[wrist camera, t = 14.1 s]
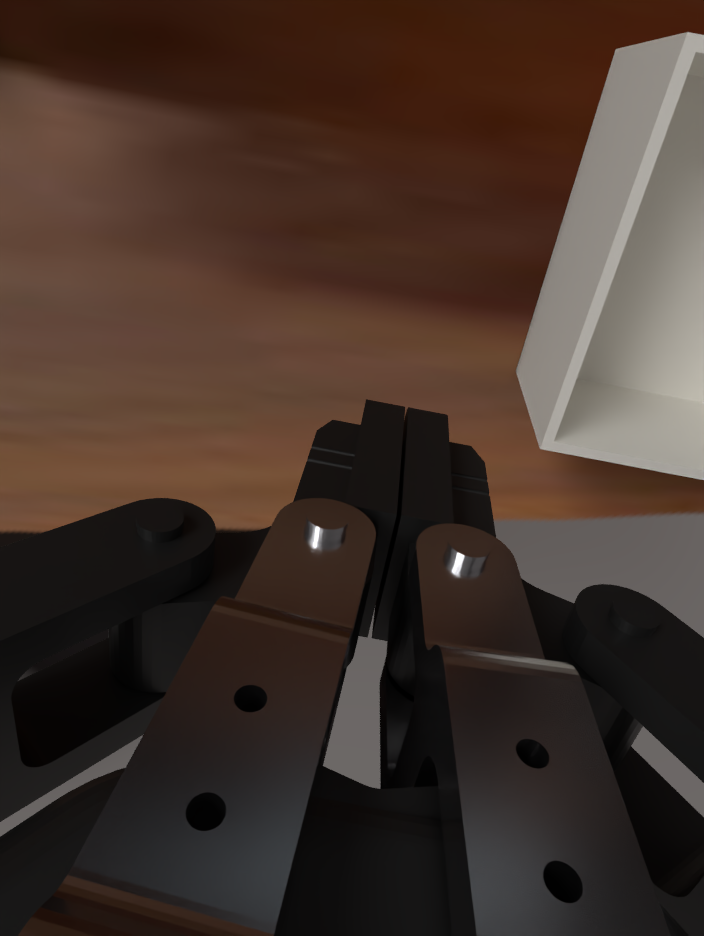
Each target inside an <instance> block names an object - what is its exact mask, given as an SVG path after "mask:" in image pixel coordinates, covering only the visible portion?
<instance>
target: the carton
mask: <svg viewBox="0 0 704 936" xmlns="http://www.w3.org/2000/svg"><path fill="white" fill-rule="evenodd" d="M516 373H517V377H518V380H519V383H520V386H521V389H522V393H523V396H524V399H525V402H526V405H527V409H528V412H529V415H530V418H531V421H532V425H533V428H534V431H535V434H536V437H537V441H538V444H539V447H540V449H543V450H549V451H554V452H559V453H564V454H570V455H575V456H580V457H585V458H590V459H596V460H601V461H606V462H611V463H617V464H622V465H627V466H632V467H637V468H643V469H648V470H653V471H658V472H664V473H669V474H674V475H679V476H684V477H690V478H695V479H700V480H704V35H700V34H694V33H689V32H687V33H682V34H678V35H674V36H670V37H665V38H661V39H657V40H653V41H648V42H644V43H640V44H636V45H631V46H627V47H623V48H619V49H616V50H615V54H614V57H613V60H612V63H611V66H610V70H609V73H608V76H607V79H606V83H605V86H604V89H603V92H602V95H601V99H600V102H599V105H598V108H597V112H596V115H595V118H594V121H593V124H592V128H591V131H590V134H589V137H588V141H587V144H586V147H585V150H584V153H583V157H582V160H581V163H580V166H579V169H578V173H577V176H576V179H575V182H574V186H573V189H572V192H571V195H570V198H569V202H568V205H567V208H566V211H565V215H564V218H563V221H562V224H561V227H560V231H559V234H558V237H557V240H556V244H555V247H554V250H553V253H552V256H551V260H550V263H549V266H548V269H547V273H546V276H545V279H544V282H543V285H542V289H541V292H540V295H539V298H538V302H537V305H536V308H535V311H534V314H533V318H532V321H531V324H530V327H529V331H528V334H527V337H526V340H525V343H524V347H523V350H522V353H521V356H520V359H519V363H518V366H517V369H516Z"/></svg>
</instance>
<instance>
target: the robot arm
mask: <svg viewBox="0 0 704 936" xmlns="http://www.w3.org/2000/svg"><path fill="white" fill-rule="evenodd" d="M404 415H405V407H403V406H398V405H392V404H387V403H382V402H377V401H372V400H366V403H365V408H364V412H363V417H362V422H361V425H357V424H352V423H347V422H342V421H337V420H332V421H330V422H329V423H327V424H326V425H324V426H323V427H321V428H320V429H319V430H317V432H316V435H315V438H314V441H313V444H312V448H311V450H310V453H309V456H308V460H307V462H306V465H305V468H304V471H303V474H302V477H301V480H300V483H299V486H298V489H297V492H296V495H295V498H294V501H293V502H292V503H290V504H288V505H287V506H285V507H284V508H282V509H281V510H280V512H279V513H278V514H277V516H276V518H275V520H274V522H273V524H272V526H270V527H268V528H265V529H261V530H257V531H251V532H240V533H216V527H215V524H214V521H213V520H212V518H211V516H210V515H209V514H208V513H207V512H206V511H204V510H203V509H201V508H200V507H198V506H196V505H194V504H191V503H188V502H185V501H181V500H177V499H169V498H153V499H145V500H139V501H136V502H132V503H129V504H126V505H123V506H120V507H117V508H114V509H111V510H109V511H106V512H103V513H100V514H97V515H94V516H91V517H88V518H85V519H82V520H79V521H76V522H73V523H70V524H67V525H64V526H61V527H59V528H56V529H53V530H50V531H47V532H44V533H41V534H38V535H35V536H32V537H29V538H26V539H23V540H20V541H17V542H14V543H12V544H9V545H6V546H3V547H0V822H1V821H2V820H4V819H5V818H7V817H9V816H10V815H12V814H14V813H15V812H17V811H19V810H20V809H22V808H24V807H25V806H27V805H29V804H30V803H32V802H33V801H35V800H37V799H38V798H40V797H42V796H43V795H45V794H47V793H48V792H50V791H51V790H53V789H55V788H56V787H58V786H60V785H61V784H63V783H65V782H66V781H68V780H69V779H71V778H73V777H74V776H76V775H78V774H79V773H81V772H83V771H84V770H86V769H88V768H89V767H91V766H92V765H94V764H96V763H97V762H99V761H101V760H102V759H104V758H105V757H107V756H109V755H110V754H112V753H114V752H115V751H117V750H118V749H120V748H122V747H123V746H125V745H127V744H128V743H130V742H132V741H133V740H135V739H137V738H138V737H140V736H141V735H143V734H144V735H143V736H142V738H141V740H140V742H139V744H138V746H137V747H136V749H135V751H134V753H133V755H132V757H131V759H130V760H129V762H128V764H127V766H126V768H123V769H120V770H116V771H114V772H111V773H109V774H106V775H104V776H101V777H98V778H96V779H93V780H91V781H90V782H88V783H85V784H84V785H82V786H80V787H78V788H76V789H74V790H72V791H70V792H68V793H67V794H65V795H63V796H62V797H60V798H58V799H57V800H55V801H54V802H52V803H51V804H49V805H48V806H46V807H45V808H43V809H42V810H40V811H39V812H37V813H36V814H34V815H33V816H31V817H30V818H28V819H26V820H25V821H23V822H22V823H20V824H19V825H17V826H16V827H14V828H13V829H11V830H10V831H8V832H7V833H5V834H4V835H2V836H1V837H0V936H704V817H703V816H702V815H701V814H699V813H698V812H697V811H696V810H695V809H694V808H693V807H692V806H691V805H690V804H689V803H688V802H687V801H686V800H685V799H684V798H683V797H682V796H681V795H680V794H679V793H678V792H677V791H676V790H675V789H674V788H673V787H672V786H671V785H670V784H669V783H668V782H667V781H666V780H665V779H664V778H663V777H662V776H661V775H660V774H659V773H658V772H657V771H655V769H654V768H652V767H651V766H650V765H649V764H648V763H647V762H646V761H645V760H644V759H643V758H642V757H641V756H640V755H639V754H638V753H637V752H636V751H635V750H634V749H633V748H632V747H631V745H632V743H633V742H634V740H635V738H636V737H637V735H638V733H639V732H640V730H641V728H642V727H643V726H644V727H645V728H646V729H647V730H648V731H649V732H650V733H651V734H652V735H653V736H654V737H655V738H656V739H658V740H659V741H660V742H661V743H662V744H663V745H664V746H665V747H666V748H667V749H668V750H669V751H670V752H671V753H673V754H674V755H675V756H676V757H677V758H678V759H679V760H680V761H681V762H682V763H683V764H684V765H685V766H686V767H688V768H689V769H690V770H691V771H692V772H693V773H694V774H695V775H696V776H697V777H698V778H699V779H700V780H702V782H703V783H704V638H703V637H702V636H700V635H699V634H698V633H697V632H695V631H694V630H693V629H691V628H690V627H689V626H688V625H686V624H685V623H684V622H682V621H681V620H680V619H678V618H677V617H676V616H674V615H673V614H672V613H670V612H669V611H668V610H667V609H665V608H664V607H663V606H661V605H660V604H658V603H657V602H656V601H654V600H652V599H650V598H649V597H647V596H645V595H643V594H641V593H639V592H636V591H633V590H630V589H628V588H624V587H620V586H615V585H604V584H601V585H593V586H590V587H587V588H585V589H583V590H582V591H581V592H580V593H579V595H578V596H577V598H576V601H575V603H571V602H569V601H567V600H564V599H562V598H559V597H557V596H555V595H552V594H550V593H547V592H545V591H543V590H541V589H538V588H536V587H534V586H532V585H531V584H529V583H527V582H526V581H524V580H523V579H521V577H520V573H519V570H518V567H517V563H516V561H515V558H514V556H513V554H512V553H511V551H510V550H509V549H508V548H507V547H506V545H505V544H503V543H502V542H501V541H500V540H498V539H497V538H496V534H495V528H494V521H493V514H492V508H491V501H490V496H489V488H488V482H487V474H486V468H485V462H484V461H483V460H482V459H481V457H480V456H479V455H478V454H477V453H476V451H475V450H474V449H473V448H472V447H471V446H468V445H463V444H457V443H452V442H449V429H448V416H447V415H445V414H440V413H435V412H430V411H425V410H419V409H414V408H409V407H408V409H407V412H406V416H405V420H404ZM374 608H375V613H374V622H373V631H372V638H374V639H379V640H385V641H388V642H387V655H386V659H385V663H384V666H383V670H382V674H381V678H380V685H379V686H380V688H379V689H380V782H381V783H380V789H377V788H372V787H368V786H366V785H363V784H361V783H359V782H357V781H354V780H352V779H350V778H348V777H345V776H344V775H341V774H339V773H337V772H335V771H333V770H330V769H328V768H326V767H324V766H323V764H324V759H325V755H326V751H327V747H328V743H329V739H330V735H331V730H332V727H333V723H334V718H335V715H336V710H337V706H338V702H339V698H340V694H341V690H342V686H343V682H344V678H345V673H346V669H347V666H348V665H349V664H350V663H351V661H352V659H353V657H354V653H355V648H356V645H357V640H358V636H363V637H368V633H369V628H370V624H371V621H372V616H373V612H374ZM106 629H108V635H109V638H107V639H105V640H103V641H101V642H98V643H96V644H94V645H92V646H90V647H88V648H86V649H84V650H82V651H80V652H78V653H76V654H73V655H71V656H69V657H67V658H65V659H63V660H61V661H59V662H57V663H55V664H53V665H51V666H49V667H46V668H44V669H42V670H40V671H38V672H36V673H34V674H32V675H30V676H28V677H26V678H24V679H22V680H20V681H18V680H19V678H20V677H21V676H22V675H23V674H24V673H25V672H26V671H27V670H28V669H29V668H30V667H32V666H33V665H34V664H36V663H38V662H39V661H41V660H43V659H45V658H47V657H49V656H52V655H53V654H56V653H58V652H60V651H62V650H64V649H67V648H69V647H71V646H73V645H75V644H77V643H79V642H81V641H84V640H86V639H88V638H90V637H92V636H94V635H96V634H98V633H100V632H103V631H105V630H106Z"/></svg>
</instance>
